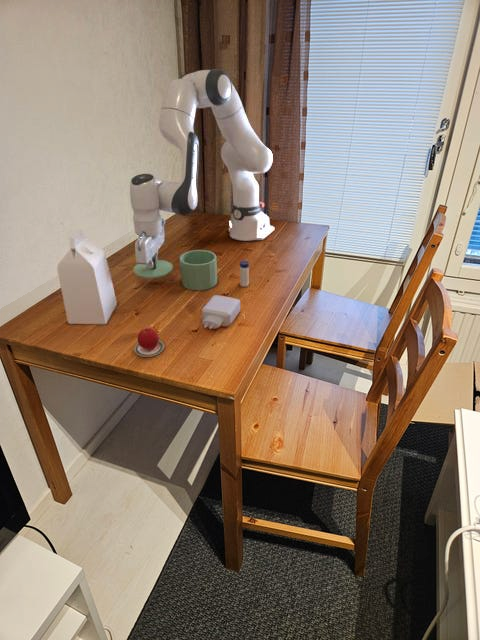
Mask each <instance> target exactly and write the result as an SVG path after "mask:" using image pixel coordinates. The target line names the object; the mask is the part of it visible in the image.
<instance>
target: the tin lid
mask: <svg viewBox="0 0 480 640" xmlns="http://www.w3.org/2000/svg"><path fill="white" fill-rule="evenodd" d="M152 261H153V262H154V267H153V268H152V269H150V268H148V265H147V264H138V263H136V264H135V266H134V267H133V268H132V272H133V275H135V276H137V277H139V278H143V279H157V278H163V277H166V276H168V275H169V274H171V273H172V272H173V270H174V266H173V263H171V262H170V261H167V260H163V259H157V263H156V258H154V257H152Z"/></svg>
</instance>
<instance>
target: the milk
mask: <svg viewBox="0 0 480 640" xmlns="http://www.w3.org/2000/svg"><path fill="white" fill-rule="evenodd" d="M68 239H69V250H68V251H67V252H66V254H65V255H64V256H63V257H62V258H61V260H60V261H58V264H57V267H56V269H57V270H56V271H57V274H58V275H57V276H58V280H59V284H60V290H61V294H62V295H61V296H62V299H63V304H64V305H63V306H64V310H65V314H66V319H67V320H66V321H67V324H72V325H73V324H74V325H75V324H76V325H107V324H108V321H109V320H110V318H111V316H112V314H113V313H114V311H115V309H116V307H117V305H118V302H117V298H116V293H115V289H114V284H113V280H112V276H111V271H110V267H109V263H108V260H107V255H106V252H105V251H104V250H103V248H100V246H98V245H96V244H95V243H94V242H93V241H91V240H89V239H88V238H86V236H85V234H84V232H83V230H76V231H75V232H74V233H73V234H72V235H71V236H70V237H69V238H68Z"/></svg>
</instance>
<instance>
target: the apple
mask: <svg viewBox="0 0 480 640" xmlns="http://www.w3.org/2000/svg"><path fill="white" fill-rule="evenodd" d="M164 348H165V344H164V342H163V341H161V340H160V336H159V334H158V332H157V331H156V329H154V328H151V327H147V328H144V329H141V330H140V331H139V333H138V334H137V344H135V346H134V348H133V351H134V353H135V354H136V355H137V356H139V357H142V358H152V357H154V356H155V357H156V356H157V355H159V354H161V353H162V352H163V351H164Z"/></svg>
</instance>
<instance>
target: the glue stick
mask: <svg viewBox="0 0 480 640" xmlns="http://www.w3.org/2000/svg"><path fill="white" fill-rule="evenodd" d="M249 276H250V262H249V261H247V260H241V261H240V262H239V286H240V287H243V288H245V287H249V284H250V282H249V280H250V279H249V278H250V277H249Z"/></svg>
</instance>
